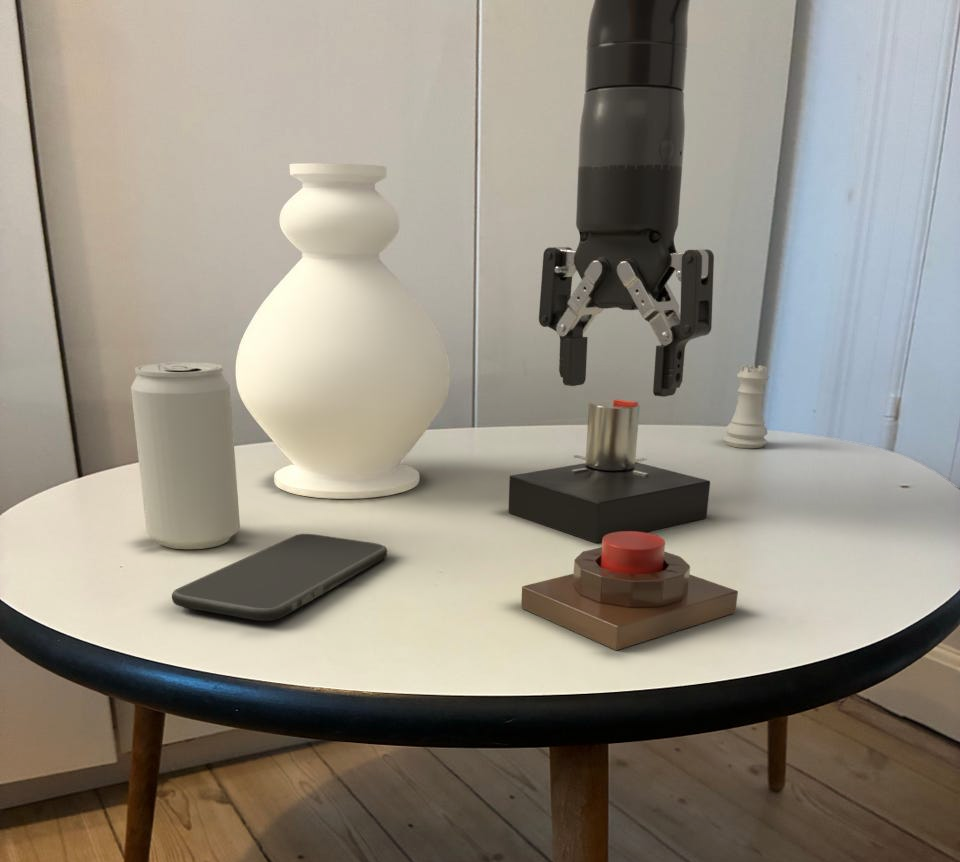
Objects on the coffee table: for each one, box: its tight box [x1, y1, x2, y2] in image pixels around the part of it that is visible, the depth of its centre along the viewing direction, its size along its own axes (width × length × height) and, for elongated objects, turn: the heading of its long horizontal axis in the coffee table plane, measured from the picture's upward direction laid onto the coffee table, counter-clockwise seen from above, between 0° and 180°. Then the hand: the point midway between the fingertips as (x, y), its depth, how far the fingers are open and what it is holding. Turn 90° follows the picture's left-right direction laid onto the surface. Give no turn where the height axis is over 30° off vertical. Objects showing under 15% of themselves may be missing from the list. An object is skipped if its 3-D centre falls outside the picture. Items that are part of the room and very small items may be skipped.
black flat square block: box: [508, 454, 711, 544], centre depth 81 cm, size 13×12×3 cm
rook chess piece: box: [723, 364, 770, 449], centre depth 106 cm, size 4×4×8 cm
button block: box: [520, 546, 739, 651], centre depth 60 cm, size 10×8×3 cm
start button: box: [601, 531, 666, 574], centre depth 59 cm, size 4×4×2 cm
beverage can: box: [130, 361, 241, 550], centre depth 70 cm, size 6×6×12 cm
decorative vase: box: [235, 162, 451, 500], centre depth 85 cm, size 18×18×25 cm
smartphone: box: [171, 533, 388, 622], centre depth 64 cm, size 7×1×15 cm
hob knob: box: [585, 398, 640, 471], centre depth 82 cm, size 4×4×5 cm
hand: (617, 390), depth 80 cm, fingers open, 8 cm apart
